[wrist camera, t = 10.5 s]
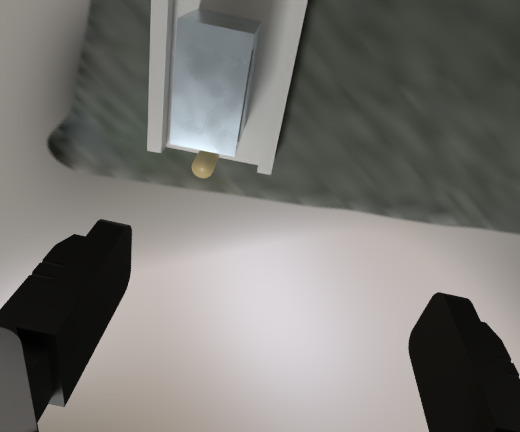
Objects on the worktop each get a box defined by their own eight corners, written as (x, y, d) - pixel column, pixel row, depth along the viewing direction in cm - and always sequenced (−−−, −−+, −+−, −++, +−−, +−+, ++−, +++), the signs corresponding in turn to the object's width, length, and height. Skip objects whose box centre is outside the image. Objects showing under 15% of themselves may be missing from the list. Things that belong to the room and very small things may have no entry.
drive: (197, 7, 25) (176, 17, 21) (263, 21, 25) (255, 34, 21) (188, 116, 29) (168, 143, 25) (245, 128, 29) (235, 157, 25)
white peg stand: (164, -54, 24) (135, -57, 20) (311, -23, 25) (313, -19, 20) (156, 139, 31) (133, 167, 27) (272, 162, 31) (268, 193, 27)
